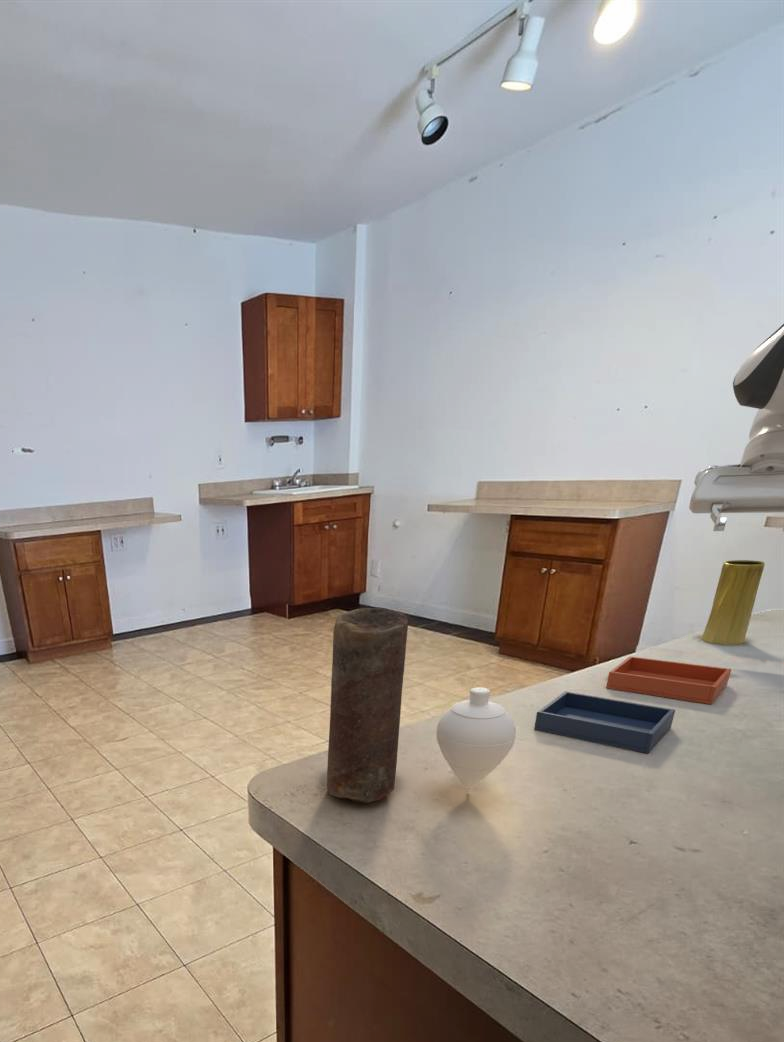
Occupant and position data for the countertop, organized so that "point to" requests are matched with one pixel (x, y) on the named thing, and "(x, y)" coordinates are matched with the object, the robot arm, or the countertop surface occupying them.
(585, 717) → the blue tray
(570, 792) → the countertop surface
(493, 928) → the countertop surface
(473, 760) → the spinning top
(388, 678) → the candle
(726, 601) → the vase
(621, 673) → the terracotta tray
